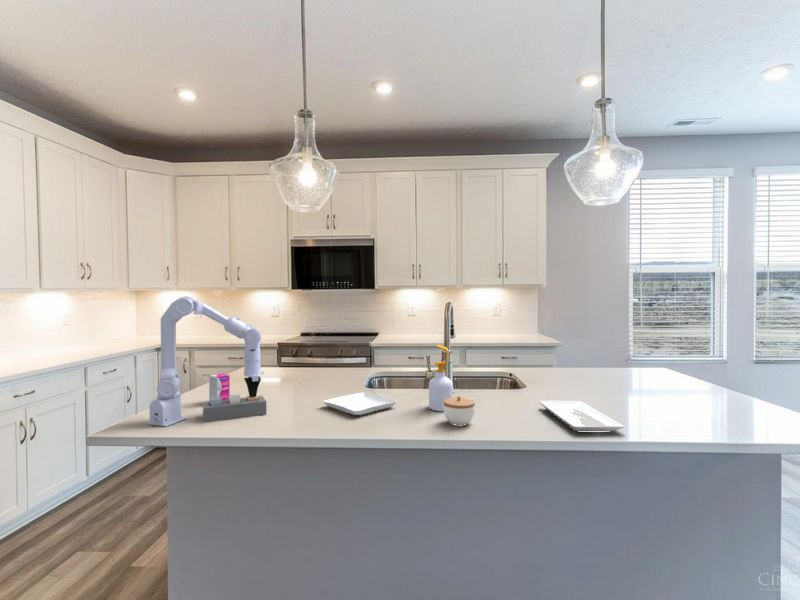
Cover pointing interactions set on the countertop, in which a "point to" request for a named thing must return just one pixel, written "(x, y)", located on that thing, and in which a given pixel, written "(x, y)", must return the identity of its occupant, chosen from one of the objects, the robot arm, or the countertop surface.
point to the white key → (234, 399)
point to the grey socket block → (234, 409)
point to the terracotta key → (252, 398)
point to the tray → (565, 414)
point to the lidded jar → (458, 410)
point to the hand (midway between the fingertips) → (252, 396)
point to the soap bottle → (440, 386)
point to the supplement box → (219, 386)
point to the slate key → (215, 401)
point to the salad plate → (360, 403)
